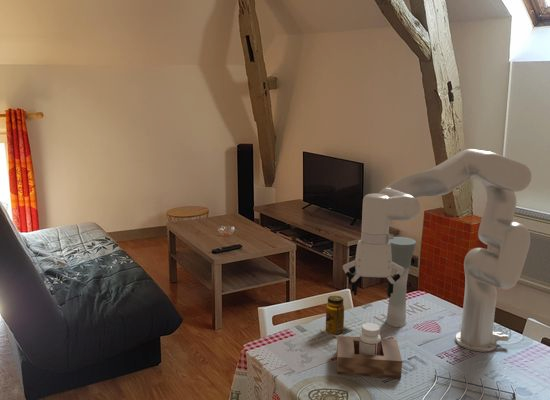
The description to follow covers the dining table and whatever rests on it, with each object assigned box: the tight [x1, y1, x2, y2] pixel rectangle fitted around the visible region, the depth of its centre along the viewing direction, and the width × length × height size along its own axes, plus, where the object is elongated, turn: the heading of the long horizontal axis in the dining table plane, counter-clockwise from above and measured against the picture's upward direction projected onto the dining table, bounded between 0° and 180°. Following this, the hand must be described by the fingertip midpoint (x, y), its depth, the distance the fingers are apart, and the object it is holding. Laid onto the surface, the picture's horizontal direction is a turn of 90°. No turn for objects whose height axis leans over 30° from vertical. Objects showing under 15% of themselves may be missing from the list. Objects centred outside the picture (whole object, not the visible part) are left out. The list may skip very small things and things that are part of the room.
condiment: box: [320, 295, 353, 338], centre depth 174 cm, size 7×8×12 cm
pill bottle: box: [359, 322, 382, 356], centre depth 152 cm, size 6×6×11 cm
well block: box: [336, 335, 403, 380], centre depth 153 cm, size 18×13×6 cm
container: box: [385, 236, 417, 328], centre depth 179 cm, size 10×10×30 cm
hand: (371, 294), depth 149 cm, fingers open, 9 cm apart
